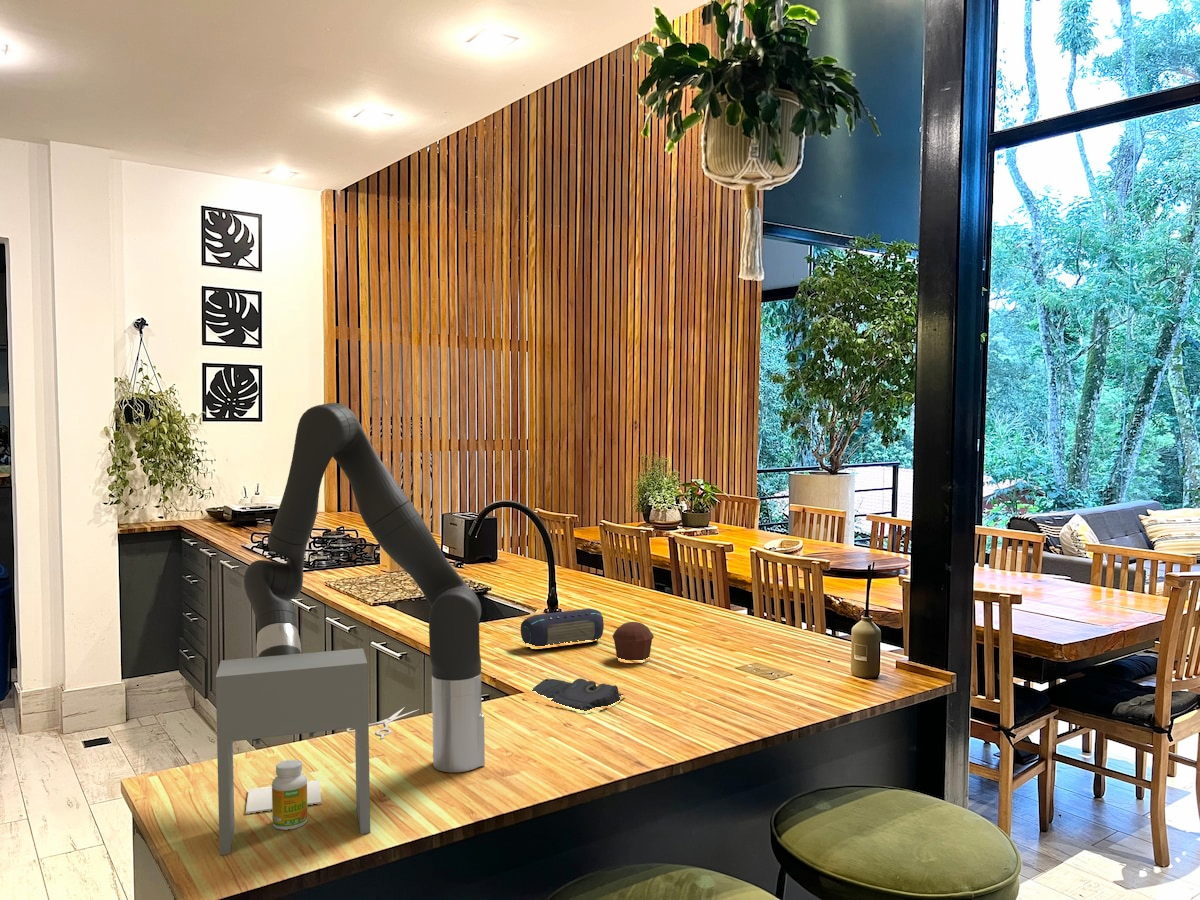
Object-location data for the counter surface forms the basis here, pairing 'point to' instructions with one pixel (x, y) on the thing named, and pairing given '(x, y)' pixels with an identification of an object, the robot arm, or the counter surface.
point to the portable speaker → (562, 627)
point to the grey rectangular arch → (290, 713)
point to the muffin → (633, 641)
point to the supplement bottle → (289, 796)
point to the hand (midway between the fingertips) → (285, 738)
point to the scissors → (386, 723)
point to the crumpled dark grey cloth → (578, 693)
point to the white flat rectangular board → (263, 797)
